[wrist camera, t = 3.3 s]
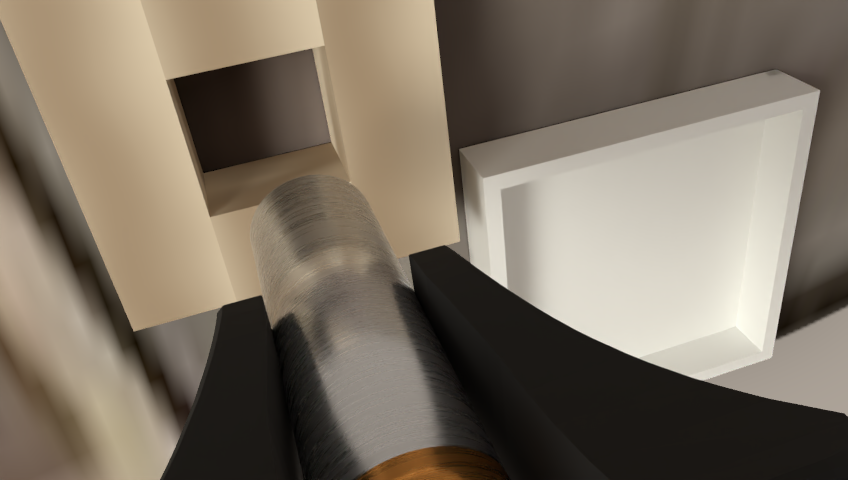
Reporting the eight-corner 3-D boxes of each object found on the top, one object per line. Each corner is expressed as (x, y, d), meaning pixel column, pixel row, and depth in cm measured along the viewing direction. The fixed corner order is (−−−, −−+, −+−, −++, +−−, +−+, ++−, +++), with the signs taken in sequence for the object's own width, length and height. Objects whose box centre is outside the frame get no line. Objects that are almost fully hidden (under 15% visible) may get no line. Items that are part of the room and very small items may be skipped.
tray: (776, 69, 25) (820, 90, 23) (738, 326, 31) (771, 357, 30) (458, 148, 23) (482, 178, 21) (485, 408, 29) (505, 446, 28)
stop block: (392, -117, 19) (422, -102, 17) (432, 200, 24) (459, 241, 22) (2, -47, 17) (-17, -20, 15) (134, 278, 22) (133, 331, 20)
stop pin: (363, 161, 14) (542, 487, 8) (381, 264, 16) (548, 616, 9) (235, 192, 14) (316, 565, 8) (266, 296, 15) (356, 688, 9)
